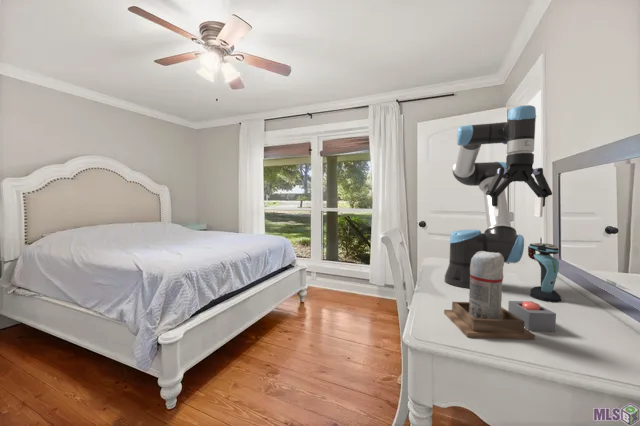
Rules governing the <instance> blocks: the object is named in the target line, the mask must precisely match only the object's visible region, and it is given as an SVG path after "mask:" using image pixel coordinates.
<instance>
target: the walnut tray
mask: <svg viewBox="0 0 640 426" xmlns="http://www.w3.org/2000/svg"><path fill="white" fill-rule="evenodd" d="M451 304H452V305H451V309H444V310H443V314H444V315H445V316H446V317H447V318H448V319H449V320H450V322H452V323H453V324H454V325H455V326H456V327H457V328H458V329H459V330H460V331H461V332H462V333H463V334H464V335H465V336H466V338H479V339H480V338H481V339H482V338H483V339H506V340H507V339H508V340H509V339H510V340H511V339H512V340H513V339H514V340H536V339H535V337H536V335H535V334H534V333H532V332H531V331H529V330H527V329H526V328H524V324H525V322H524V321H523V320H521V319H520V318H518V317H517V316H515V315H513V314H512V313H510V312H509V311H508V309H505V308H504V307H502V306H501V319H476V318H474V317H473V316H472V315H471V314H470V313H469V302H468V301H452V303H451Z"/></svg>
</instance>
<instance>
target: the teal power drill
mask: <svg viewBox="0 0 640 426" xmlns="http://www.w3.org/2000/svg"><path fill="white" fill-rule="evenodd" d="M536 252H538V253H536ZM559 252H560V250H559V248H558V247H557V246H556V245H555V244H552V243H544V242H543V243H541V242H538V243H537V242H535V243H534V242H533V243H529V245H528V247H527V254H528V257H529V259H531V260H534V262H537V263H538V264H539V266H540V286H534V287H533V288H531V289H530V294H529V296H530V297H531V298H532V299H535V300H539V301H543V302H548V303H561V302H562V296H561V295H560V294H559V293H558V292H557V291H556V290H554V287H555V284H556V280H557V278H558V274H559V269H560V267H559V265H560V262H559V260H558V259H557V258H555V257H554V256H552V255H556V254H559ZM551 254H552V255H551Z"/></svg>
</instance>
